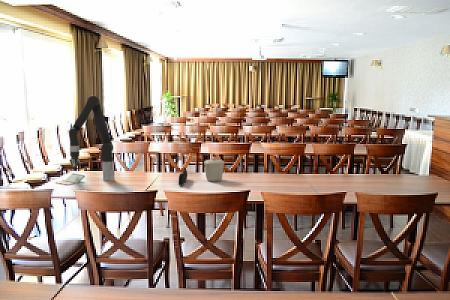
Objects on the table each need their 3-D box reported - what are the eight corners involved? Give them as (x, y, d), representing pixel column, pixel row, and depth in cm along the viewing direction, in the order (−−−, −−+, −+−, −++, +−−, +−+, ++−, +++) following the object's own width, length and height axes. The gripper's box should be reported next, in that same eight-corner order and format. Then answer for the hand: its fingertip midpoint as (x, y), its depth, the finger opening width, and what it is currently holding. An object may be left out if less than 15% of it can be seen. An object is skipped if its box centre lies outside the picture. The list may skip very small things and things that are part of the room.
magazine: (181, 176, 331) (186, 160, 358) (177, 176, 331) (183, 160, 359) (183, 194, 338) (187, 177, 366) (179, 194, 338) (184, 177, 366)
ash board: (75, 184, 342) (75, 182, 342) (67, 186, 336) (67, 184, 335) (63, 182, 351) (63, 180, 351) (55, 183, 344) (55, 181, 344)
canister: (207, 178, 370) (207, 155, 367) (226, 179, 366) (226, 155, 363) (201, 182, 353) (201, 158, 350) (221, 183, 348) (221, 158, 345)
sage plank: (85, 176, 350) (84, 175, 349) (76, 184, 343) (76, 182, 342) (73, 174, 358) (72, 173, 357) (65, 181, 352) (64, 180, 351)
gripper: (83, 151, 350) (84, 170, 352) (73, 149, 357) (74, 169, 360) (75, 152, 344) (76, 172, 346) (66, 150, 351) (66, 170, 353)
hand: (75, 170), depth 353 cm, fingers closed
